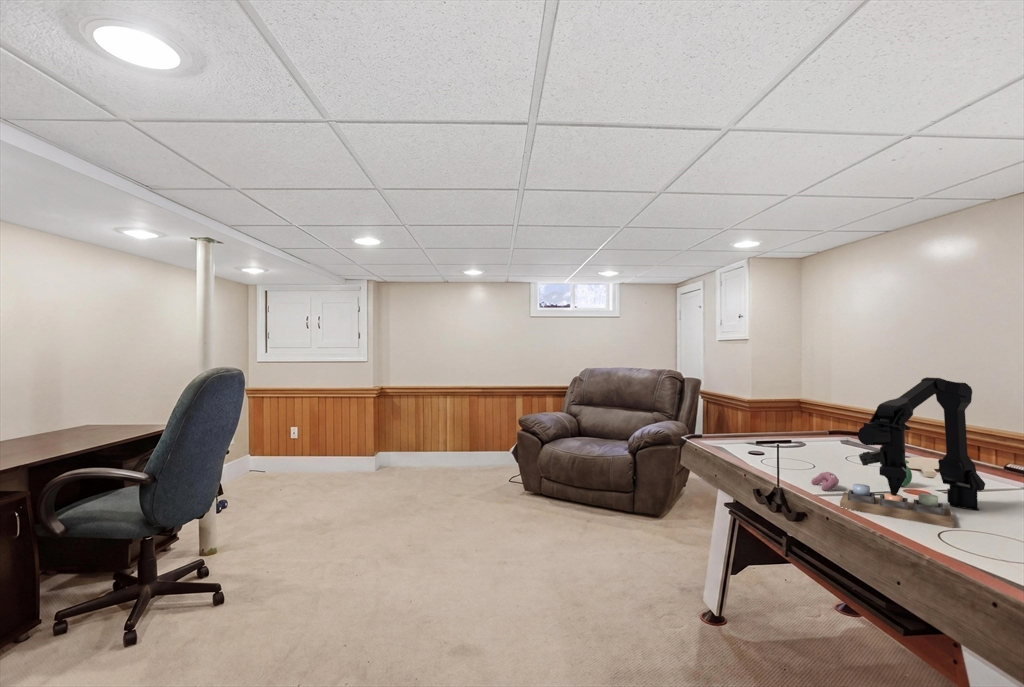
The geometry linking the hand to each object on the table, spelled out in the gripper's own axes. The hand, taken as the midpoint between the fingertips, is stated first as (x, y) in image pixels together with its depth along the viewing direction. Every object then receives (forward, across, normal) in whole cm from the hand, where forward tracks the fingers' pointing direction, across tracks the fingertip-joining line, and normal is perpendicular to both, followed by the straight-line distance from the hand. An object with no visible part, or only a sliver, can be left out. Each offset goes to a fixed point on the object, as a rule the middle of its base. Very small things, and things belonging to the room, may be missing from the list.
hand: (893, 495), depth 145 cm
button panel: (+5, 0, 0) cm, 5 cm away
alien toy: (+5, -39, +1) cm, 39 cm away
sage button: (+1, 0, +8) cm, 8 cm away
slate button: (+1, 0, -8) cm, 8 cm away
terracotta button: (+3, 0, 0) cm, 3 cm away
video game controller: (+5, -18, -20) cm, 27 cm away
